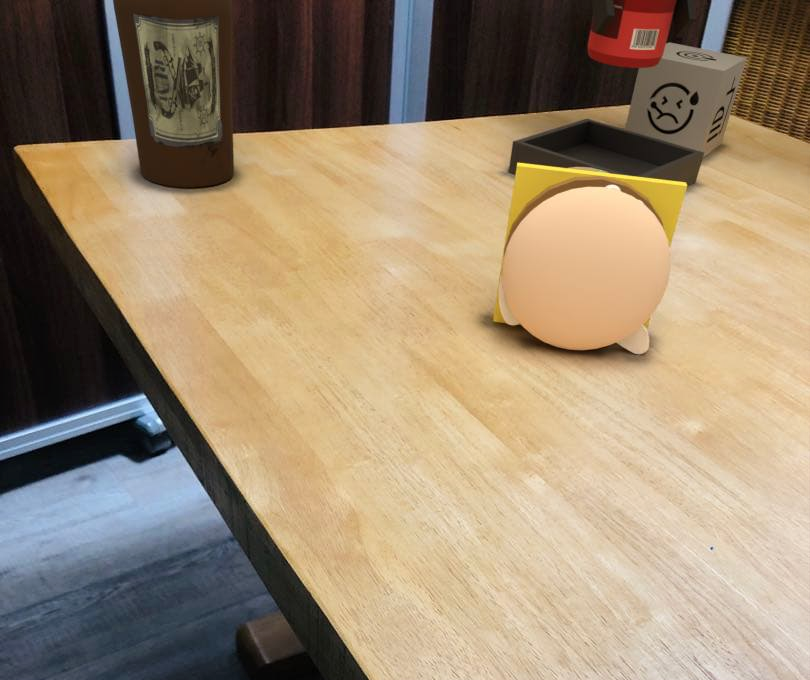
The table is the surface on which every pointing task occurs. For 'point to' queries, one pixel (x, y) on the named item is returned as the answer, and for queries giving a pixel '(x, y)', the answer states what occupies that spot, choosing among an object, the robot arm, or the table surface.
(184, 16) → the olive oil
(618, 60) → the canned food
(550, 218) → the hamburger
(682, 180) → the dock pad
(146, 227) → the table surface
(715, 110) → the icon cube
